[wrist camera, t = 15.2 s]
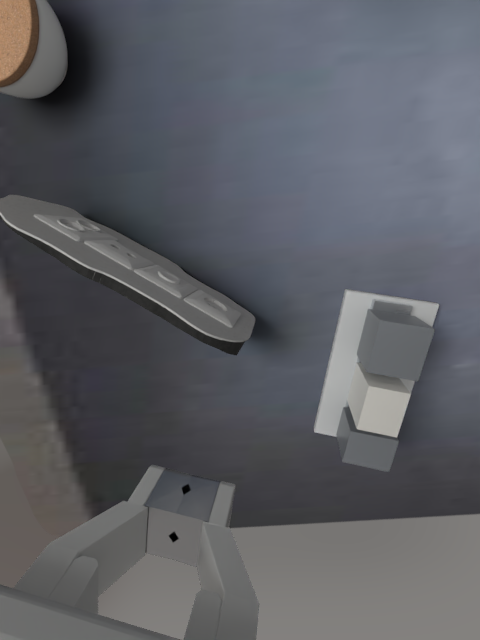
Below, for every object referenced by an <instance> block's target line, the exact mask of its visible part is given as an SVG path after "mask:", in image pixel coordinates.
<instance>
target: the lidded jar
mask: <svg viewBox="0 0 480 640" xmlns="http://www.w3.org/2000/svg"><path fill="white" fill-rule="evenodd" d="M67 67H68V55H67V45H66V40H65V36H64V33H63V30H62V27H61V25H60V22H59V20H58V18H57V16H56V14H55V12H54V11H53V9H52V7H51V6H50V4H49V3H48V1H47V0H0V93H4V94H7V95H10V96H13V97H18V98H25V99H34V98H40V97H43V96H46V95H48V94H50V93H51V92H53V91H54V90H55V89H56V88H57V87H58V86H59V85H60V84H61V83H62V82H63V80H64V78H65V76H66V72H67Z"/></svg>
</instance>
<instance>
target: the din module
mask: <svg viewBox="0 0 480 640" xmlns="http://www.w3.org/2000/svg"><path fill="white" fill-rule="evenodd" d="M410 396H411V393H410V392H409V391H408V389H407V388H406V387H405V385H404V384H403V383H402V381H401V380H400V379H399V378H396V377H390V376H385V375H379V374H374V373H368V372H366V371H365V369H364V367H363V365H362V363H358V362H357V363H356V367H355V371H354V375H353V379H352V383H351V386H350V390H349V394H348V398H347V401H348V404H349V407H350V410H351V413H352V416H353V419H354V422H355V425H356V428H357V429H358V430H363V431H368V432H373V433H377V434H382V435H387V436H392V437H397V436H398V433H399V430H400V427H401V424H402V421H403V418H404V415H405V412H406V409H407V406H408V402H409V399H410Z"/></svg>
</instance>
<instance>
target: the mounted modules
mask: <svg viewBox="0 0 480 640" xmlns="http://www.w3.org/2000/svg"><path fill="white" fill-rule="evenodd" d="M434 331H435V329H434V328H433V327H431V326H430V325H428V324H427V323H425V322H423V321H422V320H420V319H419V318H417V317H416V316H412V315H406V314H399V313H393V312H386V311H380V310H374V309H368V311H367V315H366V319H365V323H364V327H363V331H362V334H361V338H360V342H359V346H358V350H357V356H358V358H359V360H360V361H361V363H362V365H363V367H364V369H365V371H366V372H368V373H374V374H379V375H385V376H390V377H396V378H401V379H407V380H412V381H419V378H420V375H421V371H422V368H423V365H424V362H425V359H426V356H427V353H428V350H429V347H430V344H431V340H432V337H433V334H434ZM336 435H337V440H338V444H339V449H340V454H341V458H342V462H345V463H350V464H354V465H359V466H363V467H368V468H373V469H377V470H382V471H386V472H389V471H390V468H391V465H392V462H393V458H394V455H395V452H396V449H397V446H398V443H399V440H398V438H397V437H392V436H387V435H382V434H377V433H373V432H368V431H363V430H358V429H357V428H356V425H355V422H354V419H353V416H352V413H351V410H350V408H347V407H343V410H342V414H341V418H340V422H339V426H338V430H337V434H336Z"/></svg>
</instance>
